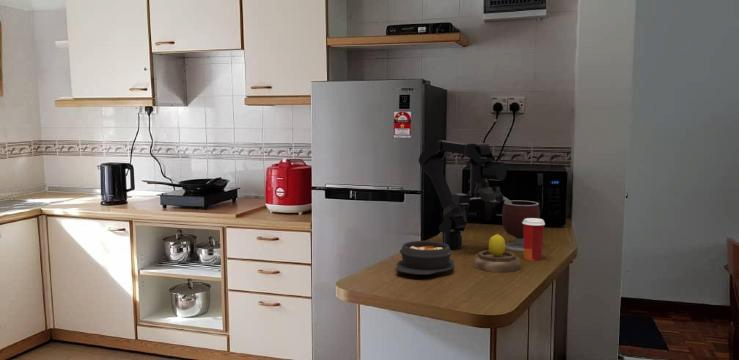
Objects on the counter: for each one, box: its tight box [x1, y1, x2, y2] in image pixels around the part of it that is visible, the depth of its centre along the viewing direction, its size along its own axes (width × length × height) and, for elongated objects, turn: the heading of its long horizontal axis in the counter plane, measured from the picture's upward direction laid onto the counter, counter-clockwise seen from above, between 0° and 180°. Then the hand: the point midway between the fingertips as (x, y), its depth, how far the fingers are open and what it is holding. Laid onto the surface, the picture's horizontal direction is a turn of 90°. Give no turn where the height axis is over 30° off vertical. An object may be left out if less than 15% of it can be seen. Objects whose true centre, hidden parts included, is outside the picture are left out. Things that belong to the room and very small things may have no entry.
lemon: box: [488, 233, 506, 258], centre depth 210 cm, size 6×6×8 cm
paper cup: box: [522, 218, 546, 262], centre depth 221 cm, size 8×8×14 cm
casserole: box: [395, 240, 455, 276], centre depth 205 cm, size 25×19×8 cm
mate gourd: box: [501, 196, 541, 252], centre depth 240 cm, size 16×14×20 cm
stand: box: [473, 249, 521, 273], centre depth 211 cm, size 15×15×4 cm
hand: (477, 221), depth 228 cm, fingers open, 9 cm apart
